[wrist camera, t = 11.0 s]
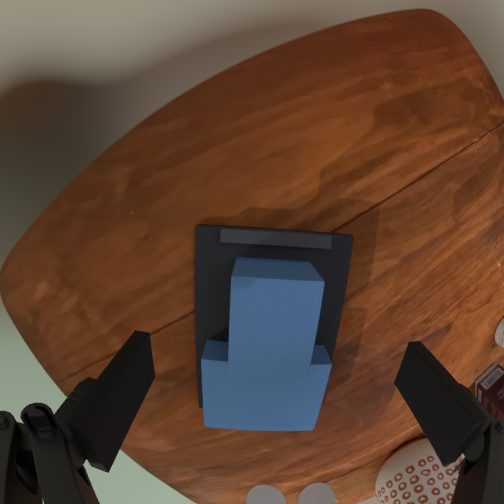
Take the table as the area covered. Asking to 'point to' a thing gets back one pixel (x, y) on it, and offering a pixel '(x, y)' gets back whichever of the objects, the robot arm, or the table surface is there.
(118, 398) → the robot arm
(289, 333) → the blue block
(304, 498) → the sunglasses
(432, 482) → the white patterned vase
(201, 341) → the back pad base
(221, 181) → the table surface
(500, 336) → the pill bottle
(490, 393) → the supplement box
